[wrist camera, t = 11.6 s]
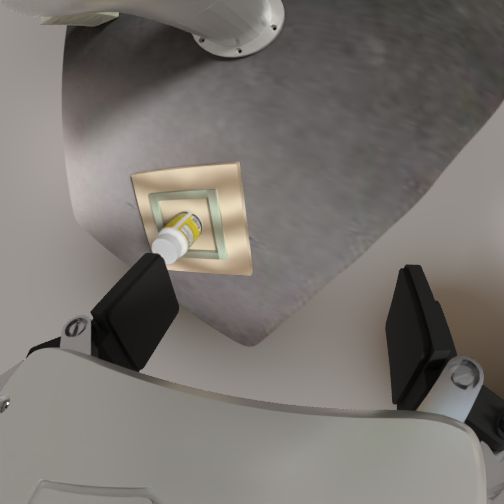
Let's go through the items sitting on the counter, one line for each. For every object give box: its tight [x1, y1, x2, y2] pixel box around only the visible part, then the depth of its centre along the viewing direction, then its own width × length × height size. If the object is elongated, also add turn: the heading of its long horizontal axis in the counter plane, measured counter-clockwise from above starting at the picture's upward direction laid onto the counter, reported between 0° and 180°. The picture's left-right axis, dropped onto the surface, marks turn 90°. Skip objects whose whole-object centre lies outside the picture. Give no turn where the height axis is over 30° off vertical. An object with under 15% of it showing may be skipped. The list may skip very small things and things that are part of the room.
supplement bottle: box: [152, 211, 203, 264], centre depth 39 cm, size 5×5×8 cm
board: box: [131, 162, 253, 276], centre depth 43 cm, size 18×18×2 cm
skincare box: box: [41, 12, 119, 27], centre depth 21 cm, size 6×4×12 cm
